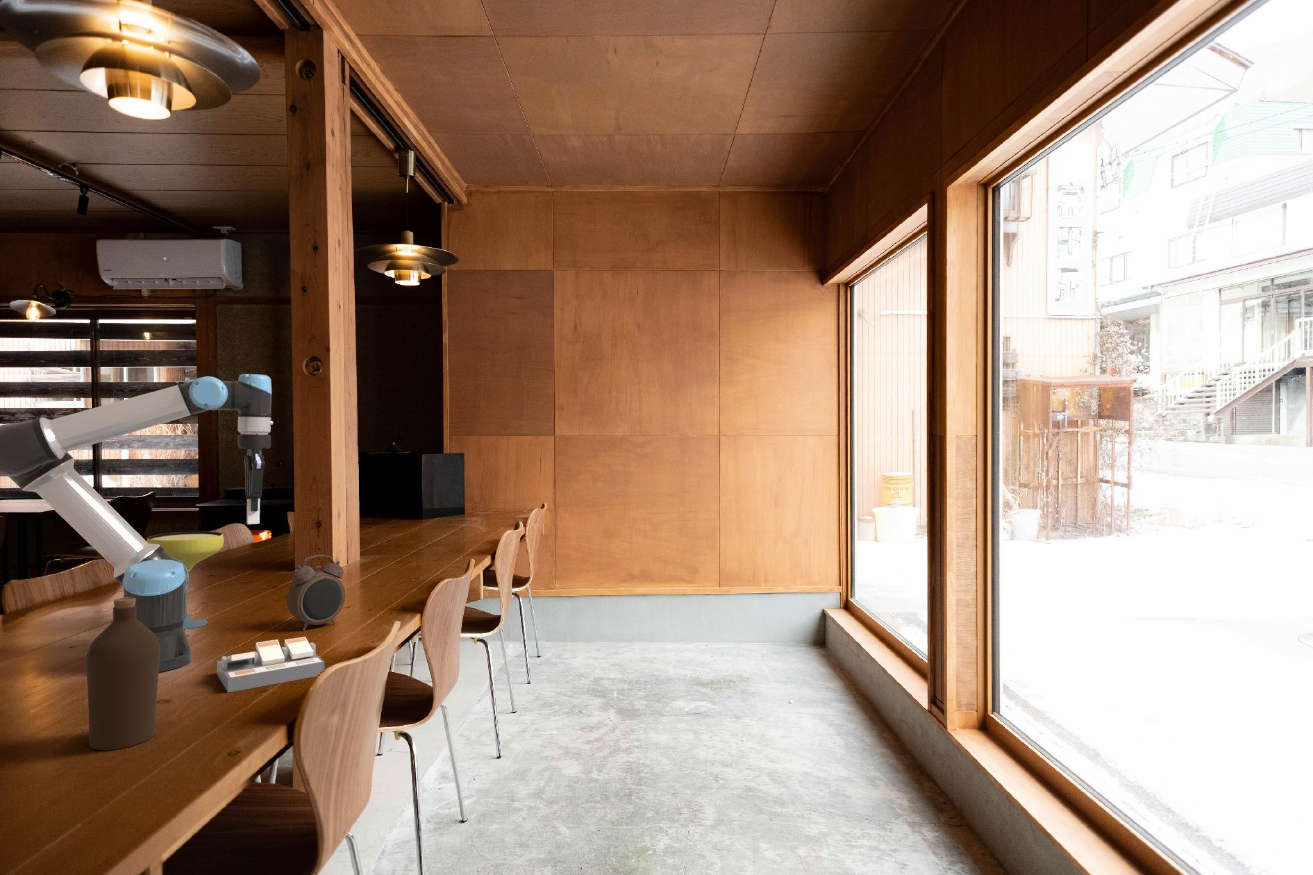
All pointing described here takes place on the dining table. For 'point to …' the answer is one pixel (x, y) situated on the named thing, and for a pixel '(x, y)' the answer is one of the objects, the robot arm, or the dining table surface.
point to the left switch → (240, 656)
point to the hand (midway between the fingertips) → (253, 523)
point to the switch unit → (267, 671)
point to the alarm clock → (316, 593)
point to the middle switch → (270, 652)
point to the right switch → (298, 648)
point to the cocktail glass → (189, 555)
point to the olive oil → (122, 681)
